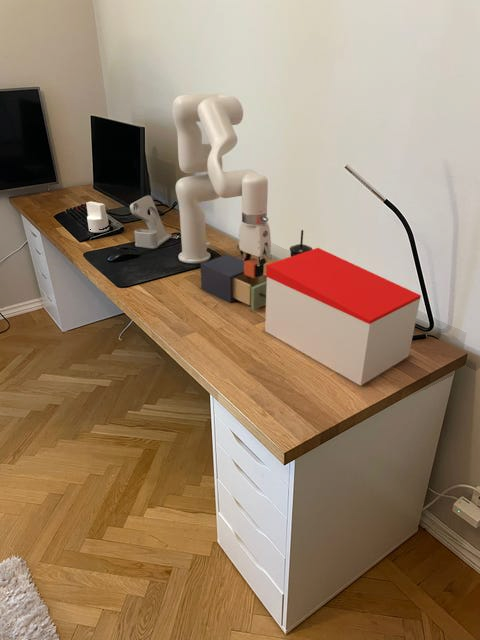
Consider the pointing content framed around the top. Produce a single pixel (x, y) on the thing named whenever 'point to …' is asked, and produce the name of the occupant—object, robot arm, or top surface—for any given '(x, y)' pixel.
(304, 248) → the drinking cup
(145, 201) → the phone holder
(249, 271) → the block
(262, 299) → the drawer
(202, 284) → the cabinet
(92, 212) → the base with upright slab
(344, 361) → the red-lidded white box
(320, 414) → the top surface
